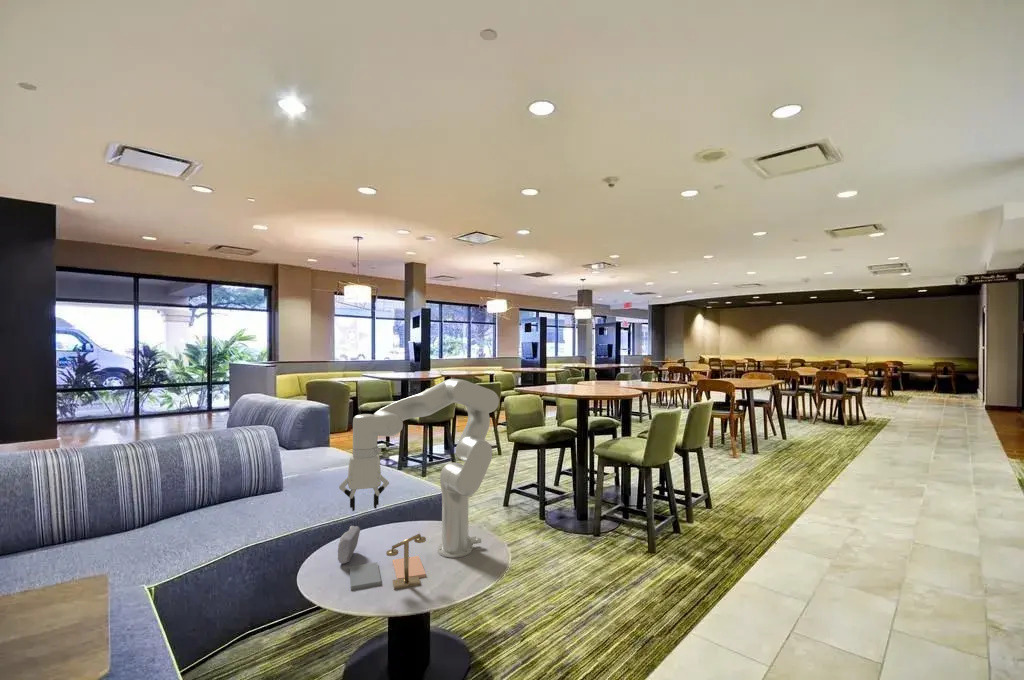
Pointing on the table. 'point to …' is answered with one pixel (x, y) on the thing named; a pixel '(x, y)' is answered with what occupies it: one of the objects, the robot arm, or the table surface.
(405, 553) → the balance
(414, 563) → the terracotta mat
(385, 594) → the table surface
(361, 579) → the slate mat
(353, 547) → the stone block
